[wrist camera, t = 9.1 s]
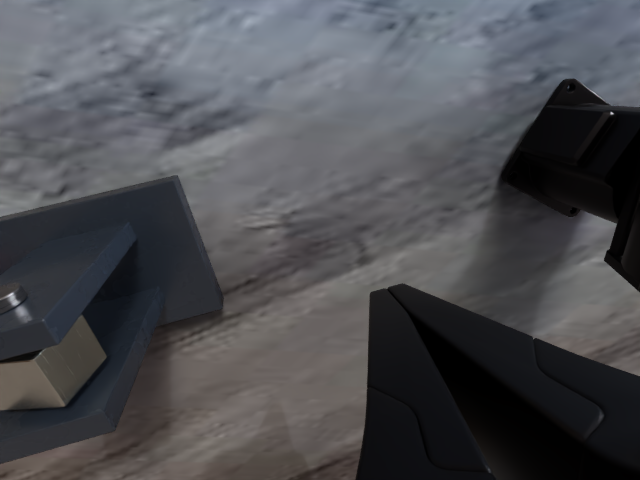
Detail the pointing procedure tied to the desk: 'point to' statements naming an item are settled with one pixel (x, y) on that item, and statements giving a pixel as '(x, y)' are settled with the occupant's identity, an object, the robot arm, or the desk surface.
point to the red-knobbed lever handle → (51, 371)
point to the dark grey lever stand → (97, 297)
